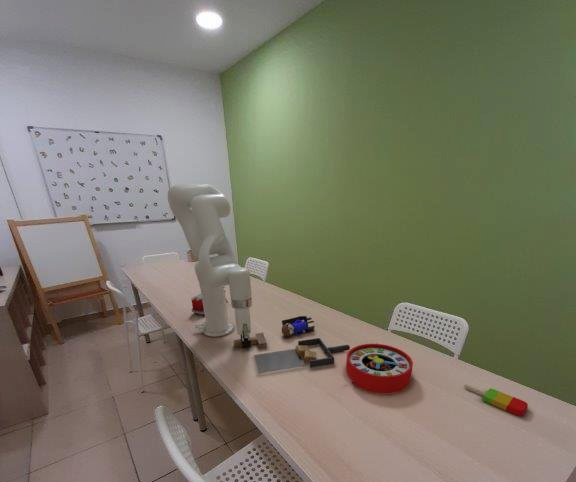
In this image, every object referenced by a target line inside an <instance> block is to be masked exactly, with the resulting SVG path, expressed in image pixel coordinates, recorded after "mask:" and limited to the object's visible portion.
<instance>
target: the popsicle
mask: <svg viewBox="0 0 576 482" xmlns="http://www.w3.org/2000/svg"><path fill="white" fill-rule="evenodd" d="M463 387H464V388H467V389H469V390H472V391H474V392H476V393H478V394H481V395H483V396H482V398H481V399H482V402H484V403H487V404H489V405H492V406H494V407H496V408H499V409H501V410H504V411H506V412H507V413H508V412H509V413H511V414H513V415H516V416H520V417H522V416H524V415H525V413H526V411H527V409H528V406H529V405H528V403H527V401H525V400H524V399H523V400H522V399H520V398H518V397H515V396H512V395H510V394H507V393H506V392H505V393H504V392H502V391H499V390H496V389H494V388H489V389H488V390H487V391H486V392H485V391H483V390H481V389H478V388H475V387H473V386H470V385H468V384H464V385H463Z"/></svg>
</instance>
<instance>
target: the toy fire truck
mask: <svg viewBox="0 0 576 482" xmlns="http://www.w3.org/2000/svg"><path fill="white" fill-rule="evenodd" d="M223 288H224V289H225V288H226V286H223ZM190 299H191V306H192V308H191V313H195V314H197V315H205V314H204V307H203V301H202V295H201V293H199V294H197V295H195V296H193V297H190ZM228 303H229V301H228V299H227V298H226V304H228Z"/></svg>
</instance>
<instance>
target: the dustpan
mask: <svg viewBox="0 0 576 482" xmlns="http://www.w3.org/2000/svg"><path fill="white" fill-rule="evenodd" d="M297 345H306V346H307V347H310V346H317V345H319V347H320V348H321V349H322V351H323V353H324V354H325V355H326V357H324V358H318V359H317V358H316V360H311V361H310V363H309V368H317V367H323V366H328V365H334V364H335V356H334V355H333V353H340V352H345V351H350V350H351V346H350V344H343V345H337V346H330V347H329V346H328V347H327V345H326V344H325V343H324V342H323V340H322V339H321V338H320V337H315V338H310V339H302V340H297Z"/></svg>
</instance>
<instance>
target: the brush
mask: <svg viewBox="0 0 576 482" xmlns="http://www.w3.org/2000/svg"><path fill="white" fill-rule="evenodd" d="M250 343H251V346H252V345H257V347H258V349H267V348H268V345H267V344H268V342H267V340H266V338H265V334H264V332H257V333H255V336H253V337H250ZM233 347H234V348H240V347H242V339H241V338H238V339H233Z"/></svg>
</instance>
